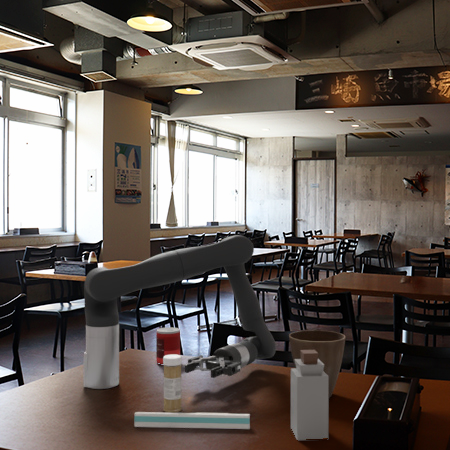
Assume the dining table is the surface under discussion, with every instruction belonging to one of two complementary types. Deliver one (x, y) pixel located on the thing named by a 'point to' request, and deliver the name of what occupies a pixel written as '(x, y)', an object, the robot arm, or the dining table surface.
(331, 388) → the plant pot
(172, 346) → the canned food
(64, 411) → the dining table surface
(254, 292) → the robot arm
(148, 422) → the rail
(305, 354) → the perfume bottle
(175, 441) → the dining table surface
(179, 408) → the sprinkles bottle
